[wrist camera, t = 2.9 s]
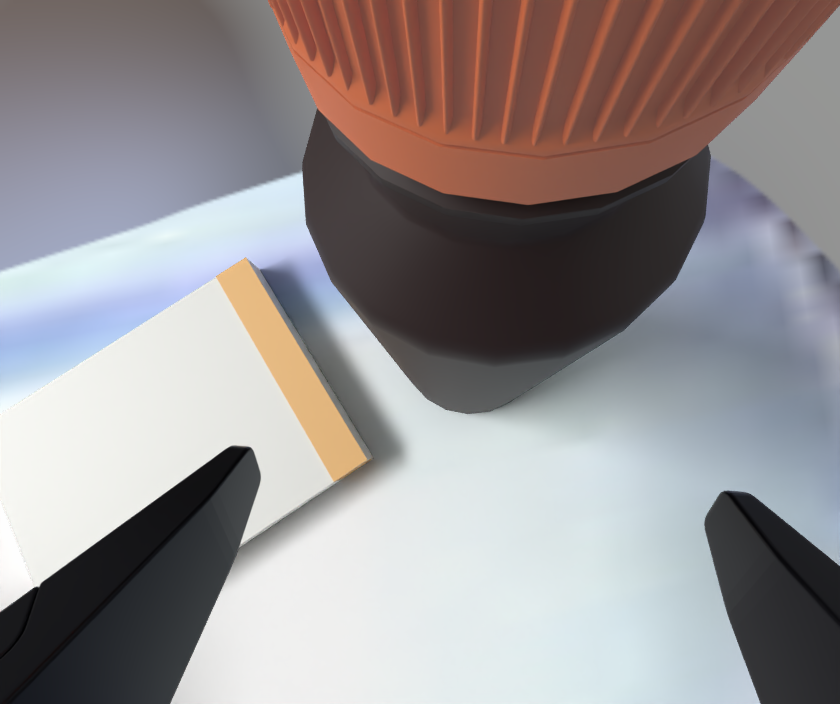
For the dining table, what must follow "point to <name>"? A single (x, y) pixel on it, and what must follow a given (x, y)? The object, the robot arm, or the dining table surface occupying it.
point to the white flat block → (173, 422)
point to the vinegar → (518, 166)
